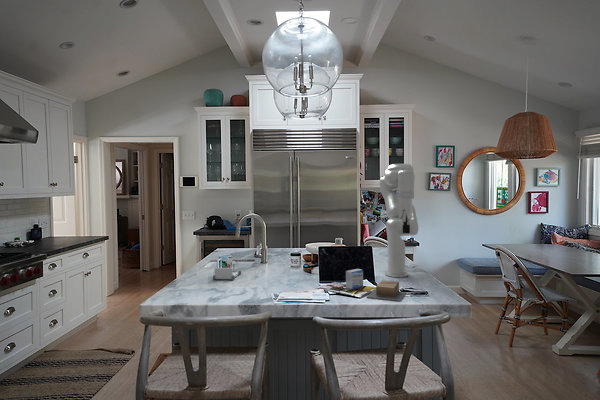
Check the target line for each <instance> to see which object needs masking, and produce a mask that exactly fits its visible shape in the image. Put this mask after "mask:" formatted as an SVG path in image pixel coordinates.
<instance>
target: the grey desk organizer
mask: <svg viewBox="0 0 600 400" xmlns="http://www.w3.org/2000/svg"><path fill="white" fill-rule="evenodd" d="M225 263H226V264H227V265H230V264H231V263H232V265H233V267H229V266H227V267H214V274H213V276H212V280H213V281H216V280H231V281H233V282H234V281H235V280H236V279H235V278H236V277H238V276H241V275H242V271H241V270H240V269H239V270H238V269H235V264H236V261H233V259H232V258H231V257H227V258H225Z"/></svg>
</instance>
